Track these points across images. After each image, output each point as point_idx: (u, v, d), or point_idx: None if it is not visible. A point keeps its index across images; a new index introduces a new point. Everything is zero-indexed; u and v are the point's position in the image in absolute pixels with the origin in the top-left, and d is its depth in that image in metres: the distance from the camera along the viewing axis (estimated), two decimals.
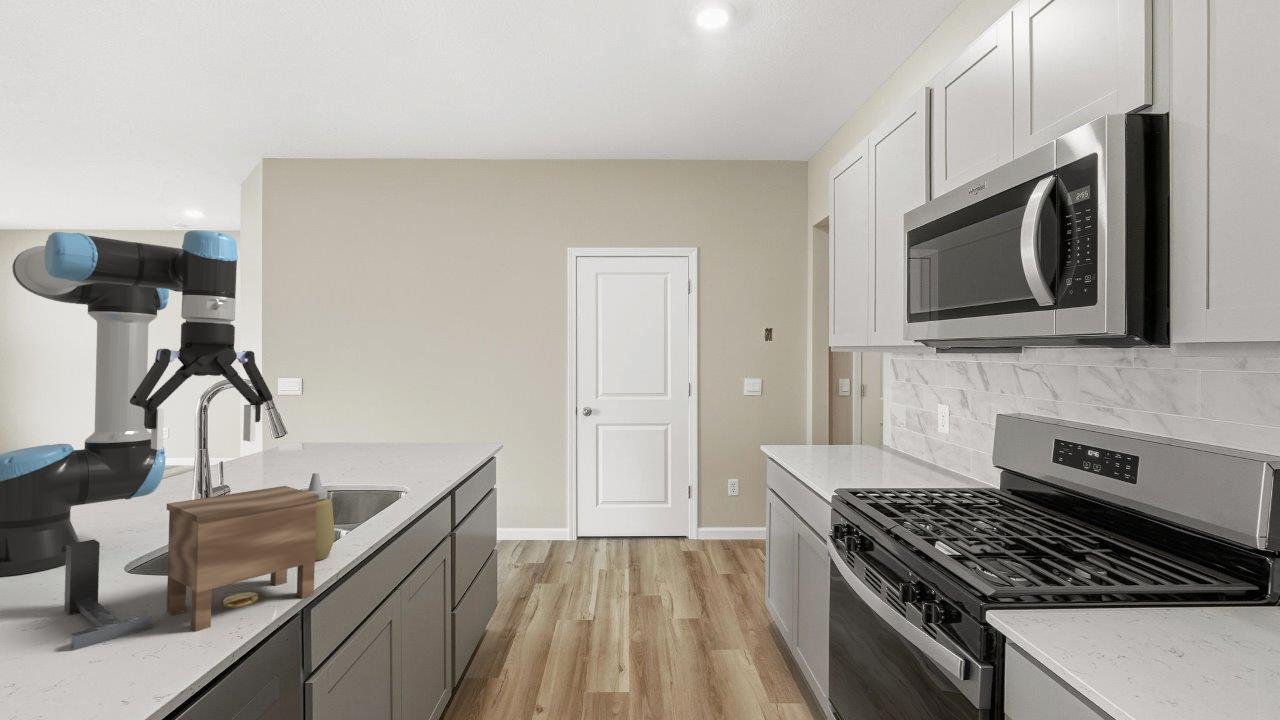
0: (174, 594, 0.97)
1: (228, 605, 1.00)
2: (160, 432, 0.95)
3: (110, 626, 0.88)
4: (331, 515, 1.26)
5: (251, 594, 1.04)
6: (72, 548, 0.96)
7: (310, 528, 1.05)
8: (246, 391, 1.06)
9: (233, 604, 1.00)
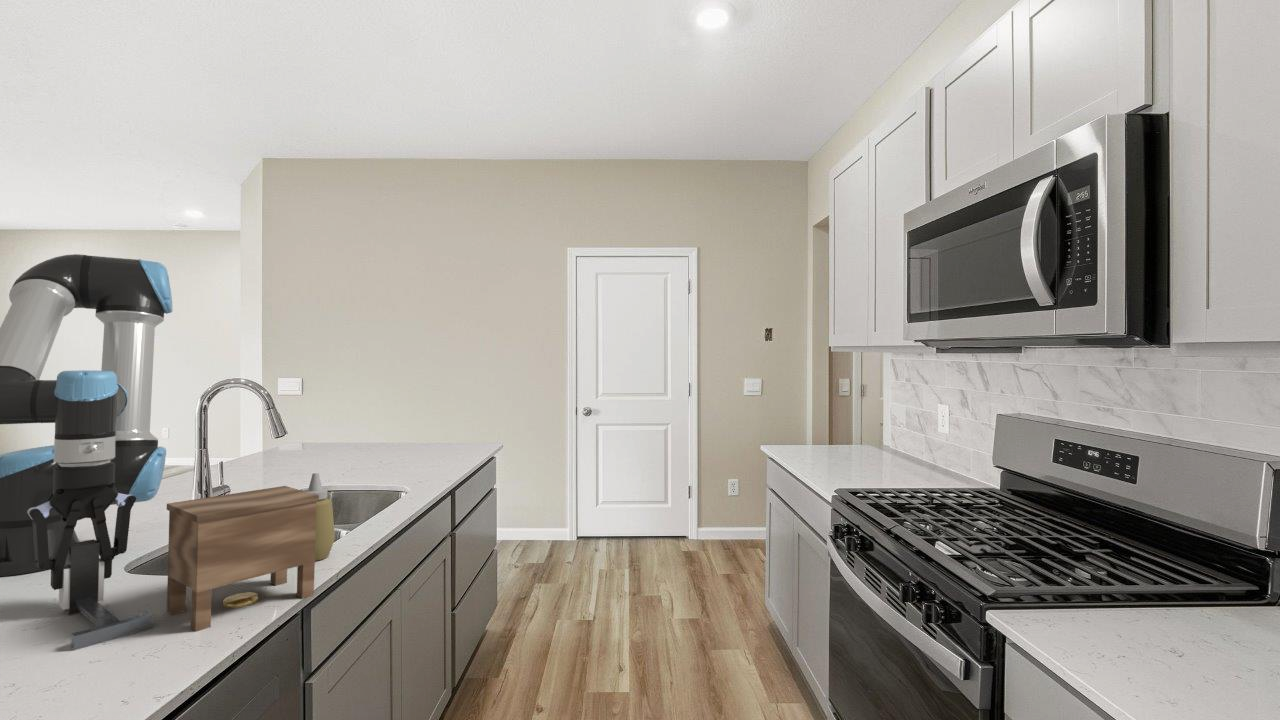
0: (174, 594, 0.97)
1: (228, 605, 1.00)
2: (66, 592, 0.96)
3: (110, 626, 0.88)
4: (331, 515, 1.26)
5: (251, 594, 1.04)
6: (72, 548, 0.96)
7: (310, 528, 1.05)
8: (102, 542, 0.99)
9: (233, 604, 1.00)
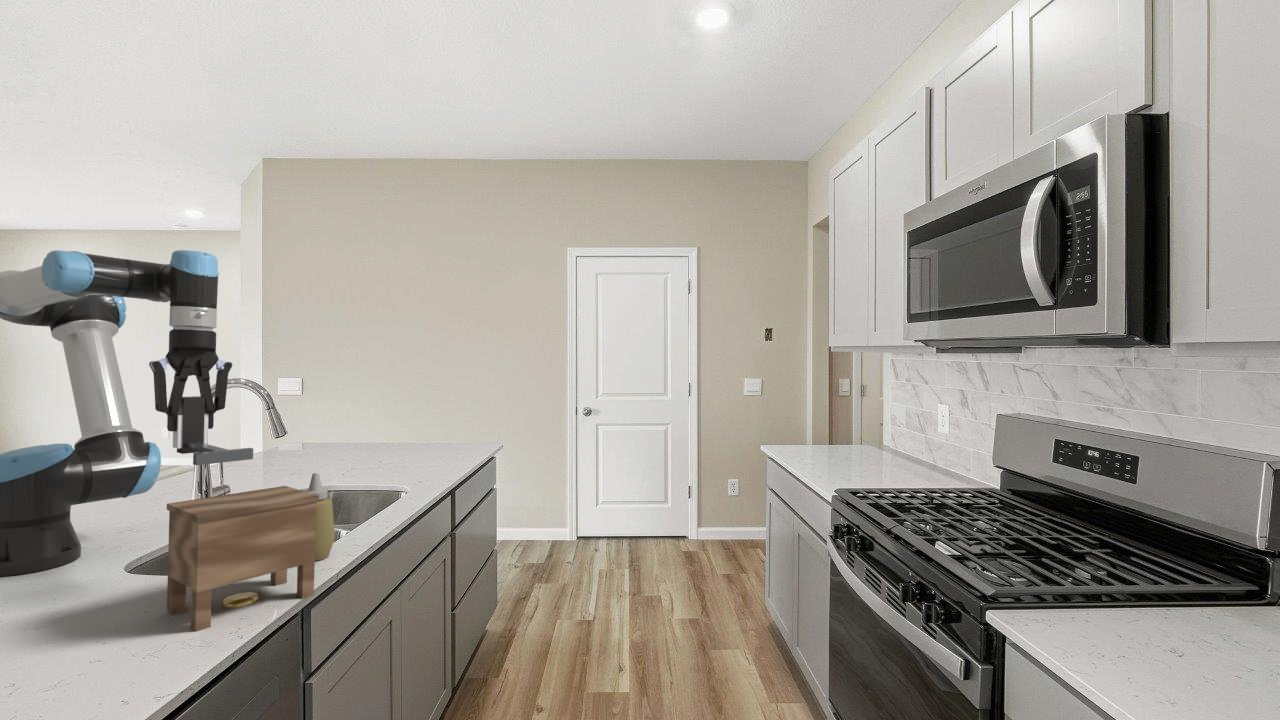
0: (174, 594, 0.97)
1: (228, 605, 1.00)
2: (180, 434, 1.15)
3: (222, 451, 1.07)
4: (331, 515, 1.26)
5: (251, 594, 1.04)
6: (184, 398, 1.15)
7: (310, 528, 1.05)
8: (207, 397, 1.19)
9: (233, 604, 1.00)
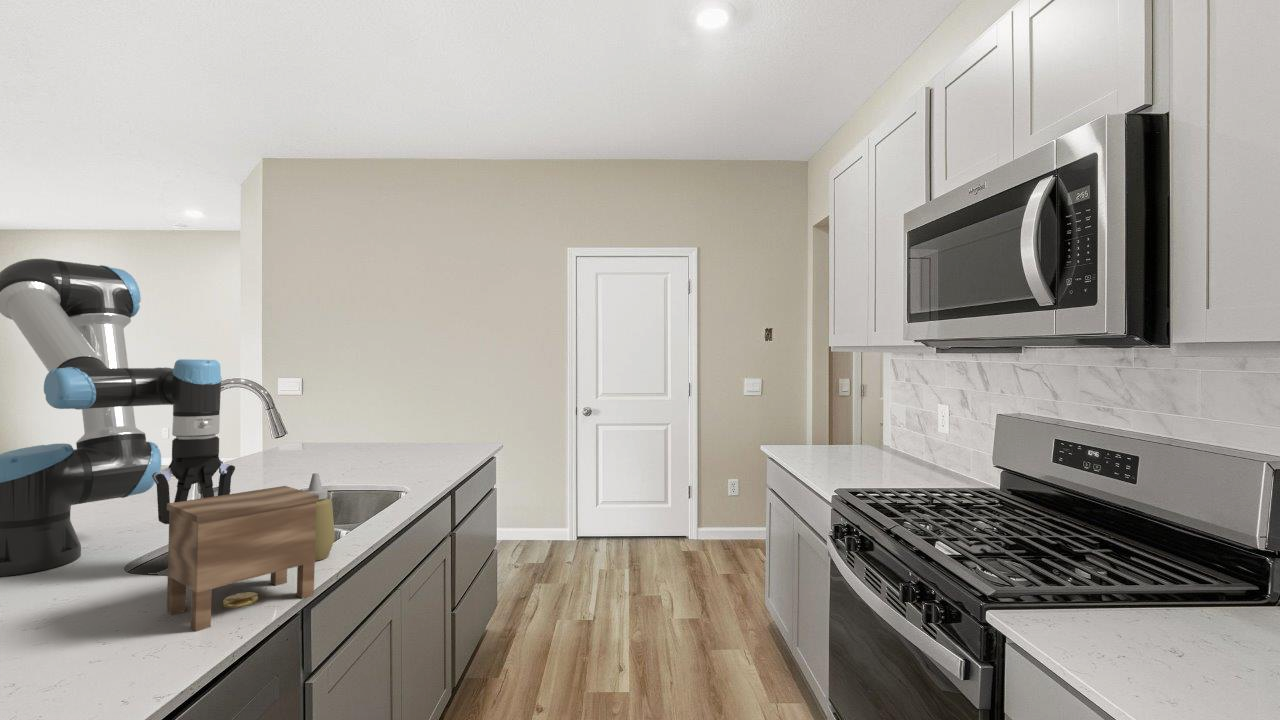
0: (174, 594, 0.97)
1: (228, 605, 1.00)
2: None
3: None
4: (331, 515, 1.26)
5: (251, 594, 1.04)
6: None
7: (310, 528, 1.05)
8: None
9: (233, 604, 1.00)
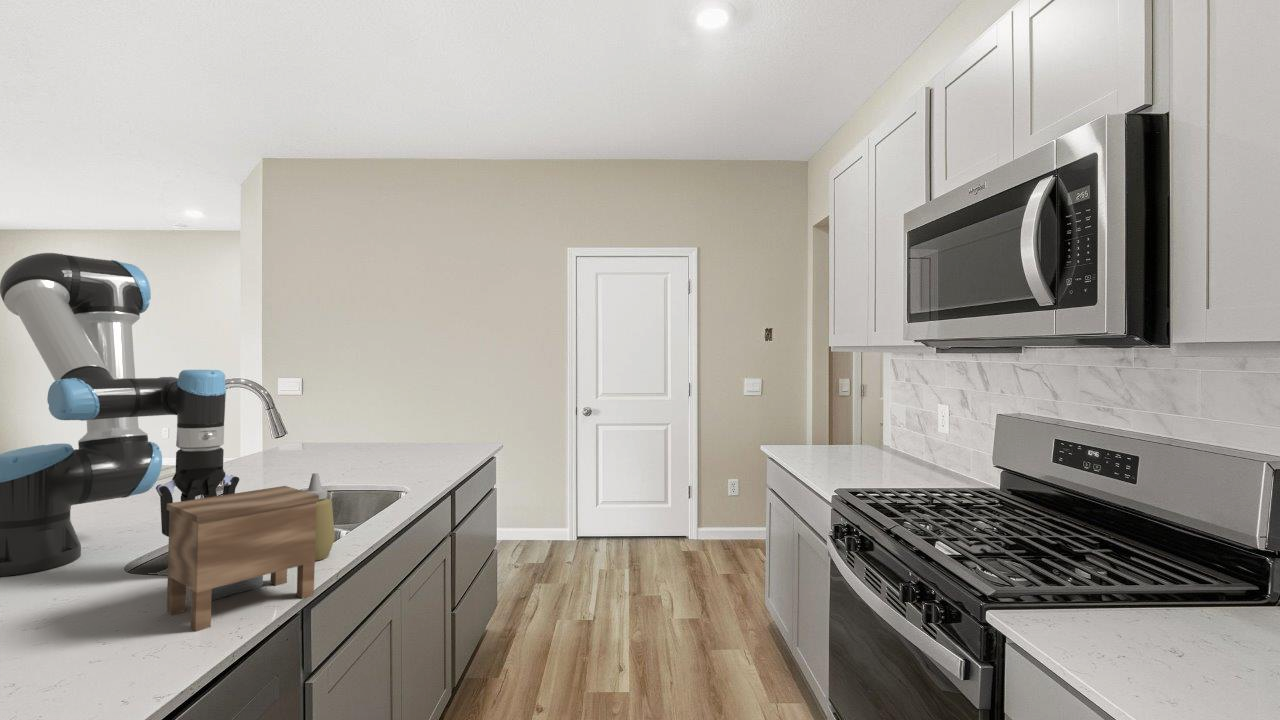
0: (174, 594, 0.97)
1: None
2: None
3: (232, 583, 1.06)
4: (331, 515, 1.26)
5: None
6: None
7: (310, 528, 1.05)
8: None
9: None
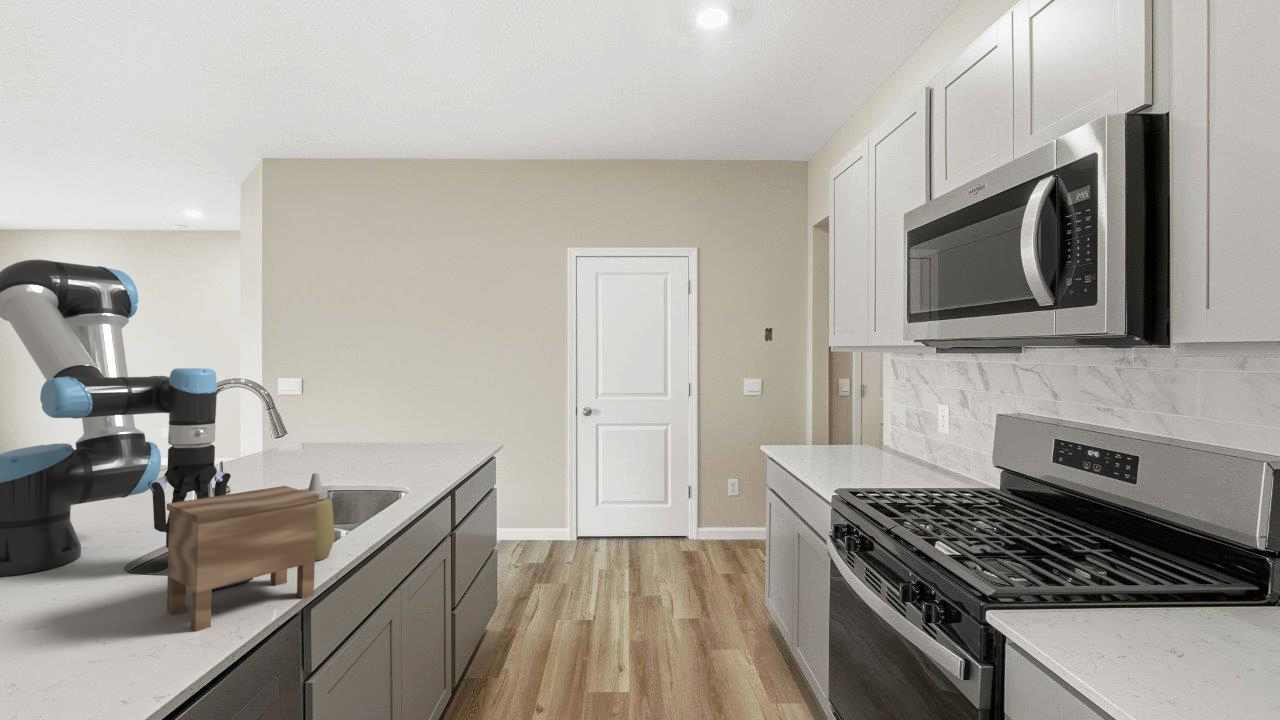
0: (174, 594, 0.97)
1: None
2: None
3: None
4: (331, 515, 1.26)
5: None
6: None
7: (310, 528, 1.05)
8: None
9: None
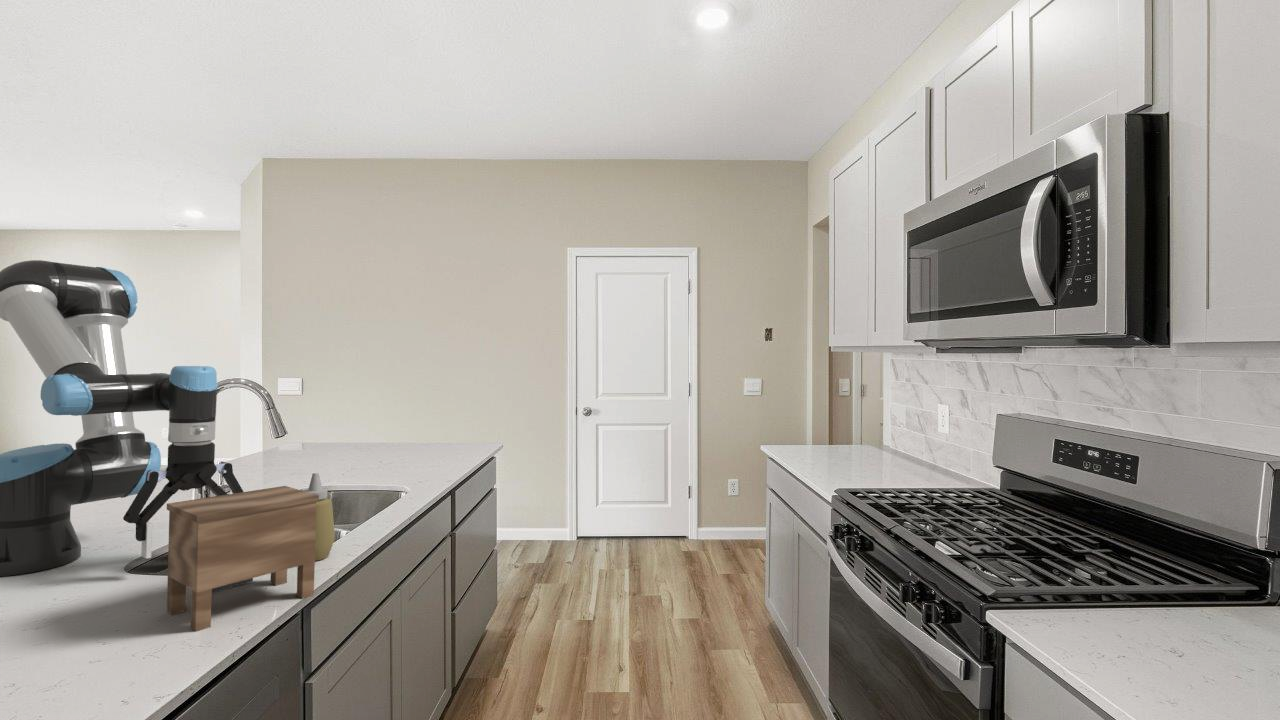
0: (174, 594, 0.97)
1: None
2: (149, 543, 1.12)
3: None
4: (331, 515, 1.26)
5: None
6: None
7: (310, 528, 1.05)
8: None
9: None
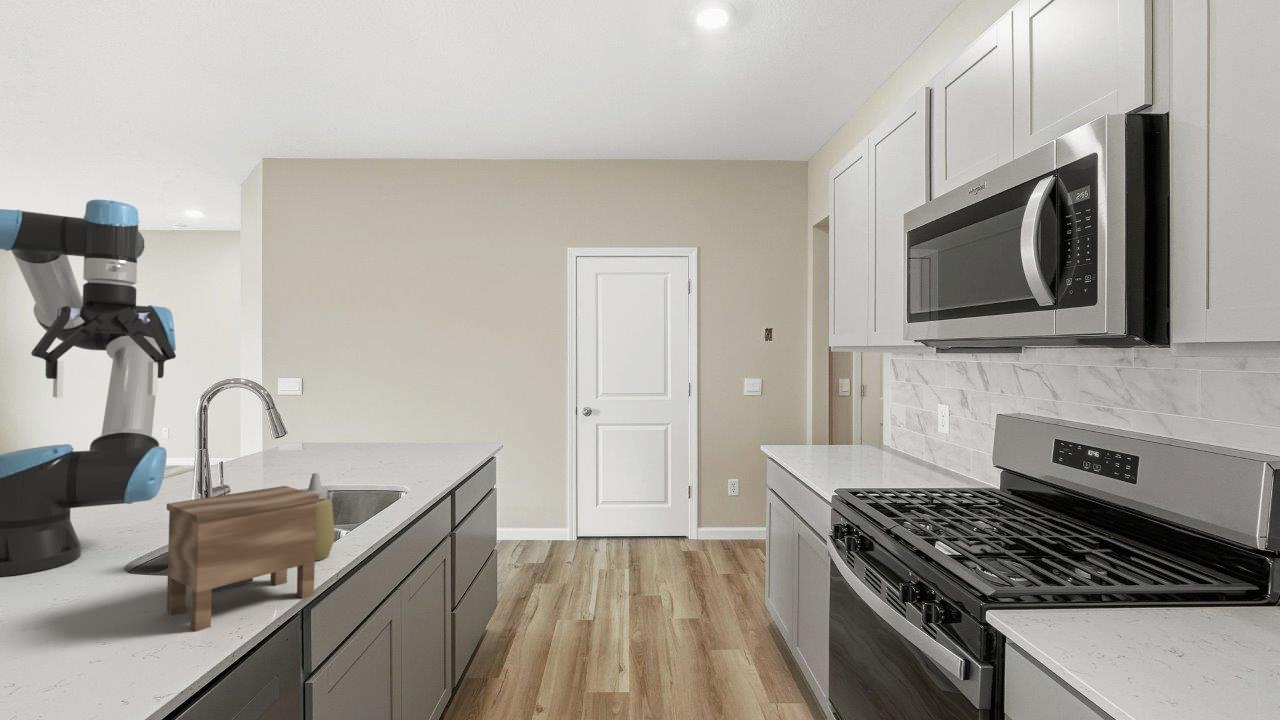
0: (174, 594, 0.97)
1: None
2: (60, 382, 1.05)
3: None
4: (331, 515, 1.26)
5: None
6: None
7: (310, 528, 1.05)
8: (148, 349, 1.15)
9: None
